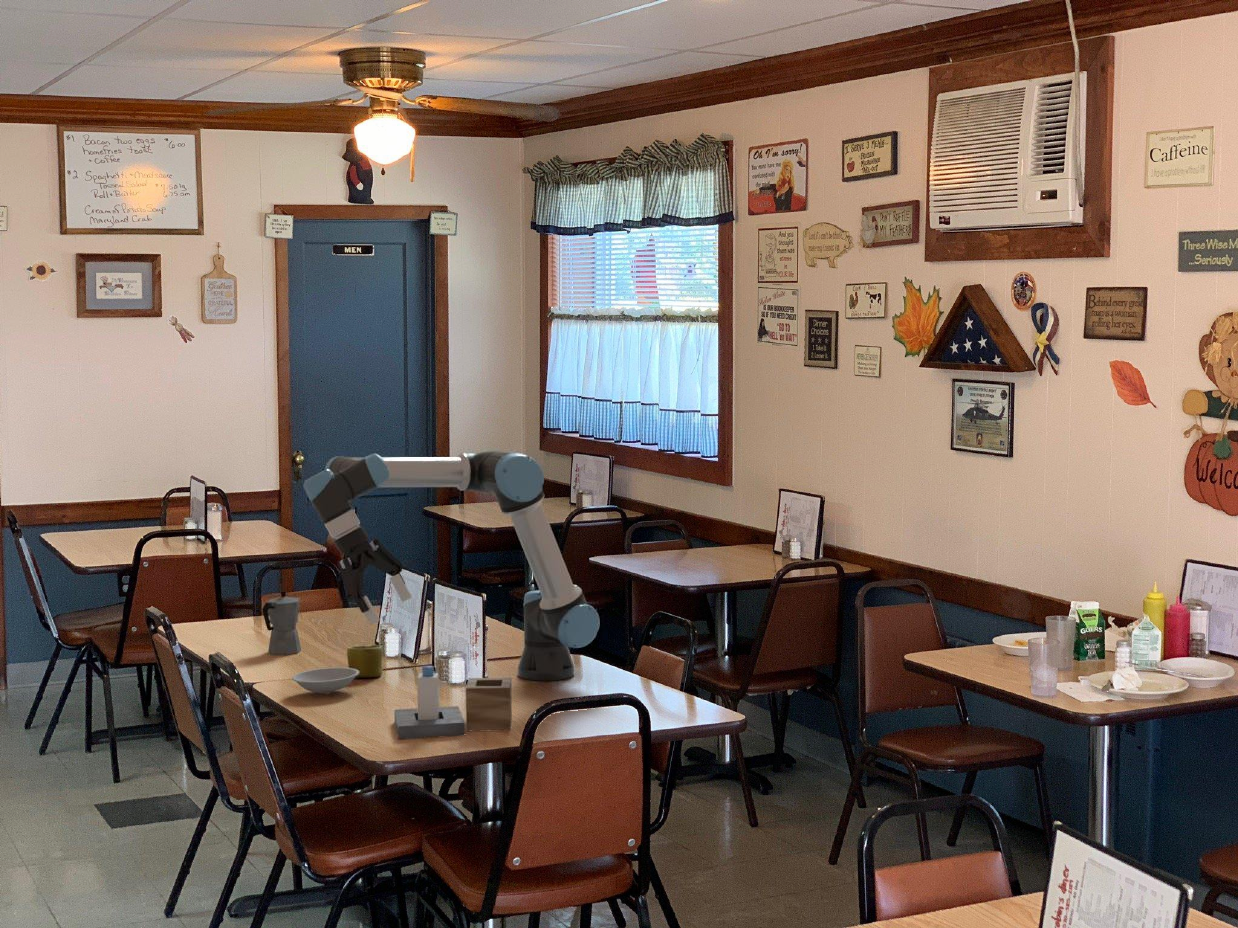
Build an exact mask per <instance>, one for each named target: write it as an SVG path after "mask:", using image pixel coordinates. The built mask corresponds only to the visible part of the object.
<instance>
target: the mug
mask: <svg viewBox="0 0 1238 928" xmlns="http://www.w3.org/2000/svg"><path fill="white" fill-rule="evenodd" d="M383 652H384V649H383V646H382V645H380V644H367V645H352V646H349V647H347V651H346V653H347V654H346V656H347V666H348V667H347V668H353V669H356V670H358V671H359V674H358V675H357V676H355V678H354V679H365V678H379V677H381V676H382V674H383V655H384V654H383Z"/></svg>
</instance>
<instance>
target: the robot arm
mask: <svg viewBox="0 0 1238 928" xmlns="http://www.w3.org/2000/svg"><path fill="white" fill-rule="evenodd" d="M544 483H545V477H544V473H543V469H542V467H541V466H540V464H539V463H538V461H536V460H535V459H534V458H533V457H531V456H528V455H526V454H524V453H521V452H509V451H503V450H490V451H489V450H488V451H481V452H471V453H470V452H469V453H468V452H467V453H465V452H463V453H458V455H457V456H452V457H451V456H450V457H449V456H446V457H445V456H440V457H437V456H433V457H432V456H430V457H428V456H422V457H420V456H419V457H418V456H416V457H415V456H414V457H413V456H412V457H411V456H410V457H409V456H405V457H404V456H403V457H402V456H397V457H396V456H393V457H391V456H389V457H388V456H383V457H382V456H381V455H379V454H377V453H371V454H368V455H367V456H364V457H363V456H362V457H360V456H359V457H358V456H357V457H356V456H345V455H338V456H337V455H336V456H334V457H332V458H331V459H329V461H328V462H327V463H326V465H325V468H324V470H323V471H320V472H318V473H317V474H314V475H313V476H311V477H309V478H308V479H306V480H305V481H304V482H303V484H302V485H303V488H304V490H305V493H306V495H307V497H308V500H309V502H311V504H312V507H314V509H315V511H316V513H317V514H318V516H319V518H320V519H321V522H323V524H324V527H325V528H326V530H327V532H328V534H329V536H330V537H331V538H332V539H335V540H334V541H333V542H334V545H335V546H336V548H337V550H338V552H339V553H340V554H342V555H344V557H345V558H343V559H341V560H339V561H338V562H337V565H338V568H339V570H340V572H341V577H342V582H343V588H344V592H345V598H346V602H348V603H350V602H351V603H356V605H357V606H358V608H359V610H360V611H361V613H362V614H364V616H365V619H366V620H367V622H368V623H369V625H373V624H376V623H377V622H379V621H381V619H380V617H379V615H378V614H377V612H376V610H375V608H374V606H373V605H372V603H371V601H370V600H369V597H368V596H367V595H364V572H365V569H366V568H368V567H369V566H373V567H375V568H376V569H378V570H380V571H382V572H384V573H385V574H387V575H389V576H390V577H389V578H388V579H389V580H390V582H391V585H392V586H393V588H394V589H395V591H396V593H397V594H398V597H399V598H400V600H401V602H405V601H408V600H411V598H413V596H412V595H411V593H410V591H409V589H408V587H407V586H406V582H405V580H404V578H403V577H402V574H401V572H402V571H403V567H404V565H403V563H402V562H401V561H400V560H398V559H397V558H396V557H395V556H394V555H393V554H391V552H389V551H388V550H387V549H386V548H385V547H384V546H383V545H382V544H381V543H380V541H379V540H378V539H377V538H375V539H374V540H372V541H369V542H368V540H369V539H370V538H369V535H368V533H367V532H366V530H365V529H364V527H363V526H361V525H360V524H361V521H360V519H359V518H358V516H357V514H356V512H355V510H354V509H353V507H352V505H351V503H350V502H352V501H355V499H358V498H360V497H362V496H363V495H366V494H367V493H369V492H371V491H373V490H374V489H377V488H457V490H459V491H465V492H466V491H467V492H469V491H470V492H477V493H482V494H487V495H489V496H494V497H495V499H496V501H497V504H498V506H499V508H500V511H501V513H502V514H505V515H507V516H508V517H510V520H511V522H512V524H513V527H514V529H515V530H514V531H515V532H516V535H517V537H518V540H519V542H520V545H521V548H522V549H523V552H524V555H525V557H526V559H527V562H528V564H529V566H530V570H531V572H532V575H533V577H534V580H535V582H536V585H537V587H538V590H537V589H536V590H531V591H528V592H526V593H525V594H524V597H523V605H522V607H523V637H524V638H523V639H524V640H523V641H524V642H523V643H524V645H523V646H524V647H523V650H522V653H521V656H520V659H519V663H518V666H517V675H518V677H519V678H522V679H523V680H529V681H540V682H542V681H543V682H545V681H560V680H565V679H569V678H572V677H573V676H575V665H574V661H573V658H572V655H571V652H570V649H569V648H573V649H579V648H584V647H586V646H588V645H589V644H591V643H592V642H593V640H594V639H595V638H596V637H597V633H598V631H599V629H600V621H601V620H600V616H599V613H598V612H597V610H596V609H595V608H594V607H593V605H590V604H589V603H588V602H587V599H586V597H585V595H584V593H583V589H582V588H581V587H579V586H578V585H575V584H573V580H572V578H571V575H570V573H569V571H568V568H567V565H566V562H565V560H564V559H563V555H562V553H561V550H560V548H559V546H558V545H559V544H558V542H557V539H556V537H555V535H554V533H553V530H552V527H551V525H550V522H549V520H548V518H547V515H546V512H545V509H544V506H543V503H542V502H543V500H544V498H545V493H544V490H543V485H544Z"/></svg>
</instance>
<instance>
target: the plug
mask: <svg viewBox="0 0 1238 928" xmlns="http://www.w3.org/2000/svg"><path fill="white" fill-rule="evenodd" d="M434 670H435V669H434V666H433V665H424V666H422V669H421V672H420V673H418V676H417V678H416V679H417V681H416V683H417V708H418V720H430V719H439V707H440V700H439V699H440V694H439V693H440V691H439V689H440V687H439V685H440V684H439V683H440V682H439V679H440V678H439V673H435V671H434Z"/></svg>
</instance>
